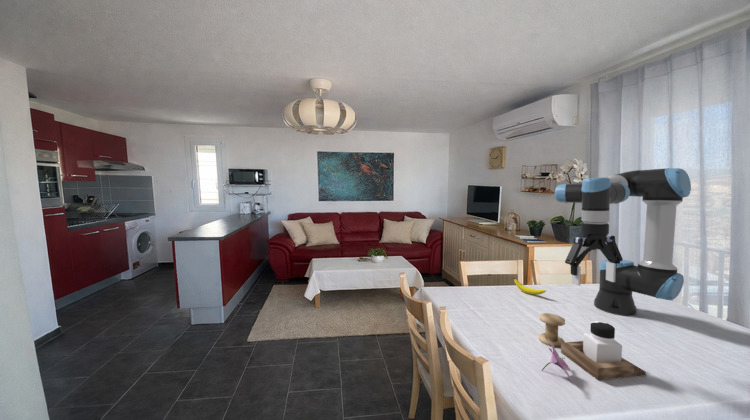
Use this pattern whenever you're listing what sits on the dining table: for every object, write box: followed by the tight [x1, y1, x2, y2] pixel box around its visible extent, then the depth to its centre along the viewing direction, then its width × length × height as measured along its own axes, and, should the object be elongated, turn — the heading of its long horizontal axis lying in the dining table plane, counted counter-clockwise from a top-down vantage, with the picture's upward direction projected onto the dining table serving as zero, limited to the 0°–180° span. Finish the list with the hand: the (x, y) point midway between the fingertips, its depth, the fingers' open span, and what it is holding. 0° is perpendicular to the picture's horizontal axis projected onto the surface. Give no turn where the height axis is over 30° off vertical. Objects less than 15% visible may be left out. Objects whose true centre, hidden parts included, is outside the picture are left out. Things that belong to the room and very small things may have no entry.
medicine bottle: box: [582, 320, 623, 364], centre depth 89 cm, size 7×7×12 cm
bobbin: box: [538, 312, 566, 348], centre depth 102 cm, size 8×8×9 cm
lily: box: [541, 337, 573, 383], centre depth 85 cm, size 12×12×10 cm
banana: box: [512, 277, 547, 295], centre depth 149 cm, size 3×19×6 cm, turn 26°
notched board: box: [560, 340, 647, 381], centre depth 89 cm, size 16×14×4 cm
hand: (593, 282), depth 96 cm, fingers open, 13 cm apart
